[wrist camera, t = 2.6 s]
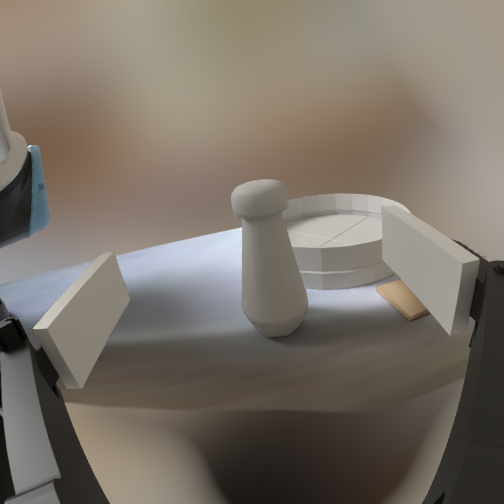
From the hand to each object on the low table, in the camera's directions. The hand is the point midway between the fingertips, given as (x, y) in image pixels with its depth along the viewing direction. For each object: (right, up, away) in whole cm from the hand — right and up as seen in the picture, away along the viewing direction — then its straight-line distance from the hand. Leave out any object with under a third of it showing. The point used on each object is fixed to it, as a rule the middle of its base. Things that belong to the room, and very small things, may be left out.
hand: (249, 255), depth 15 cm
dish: (+11, 0, +28) cm, 30 cm away
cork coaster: (+16, -4, +14) cm, 22 cm away
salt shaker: (+3, -7, +14) cm, 16 cm away
